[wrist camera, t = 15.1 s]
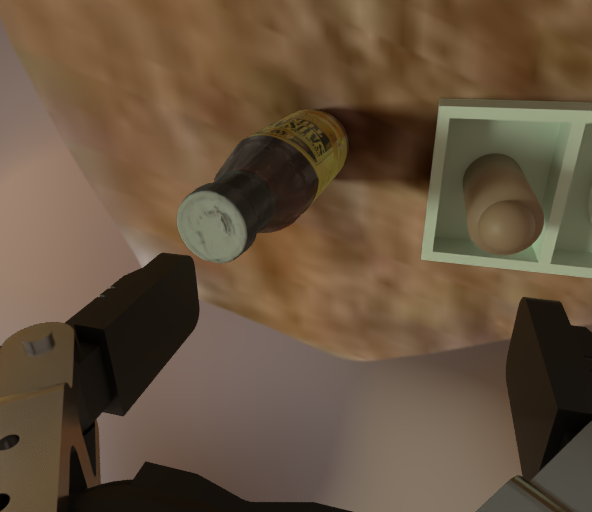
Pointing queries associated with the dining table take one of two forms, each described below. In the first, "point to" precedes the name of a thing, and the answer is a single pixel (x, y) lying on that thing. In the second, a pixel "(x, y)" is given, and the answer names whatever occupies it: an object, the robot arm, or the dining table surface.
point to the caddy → (511, 186)
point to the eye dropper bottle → (590, 202)
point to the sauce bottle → (263, 185)
